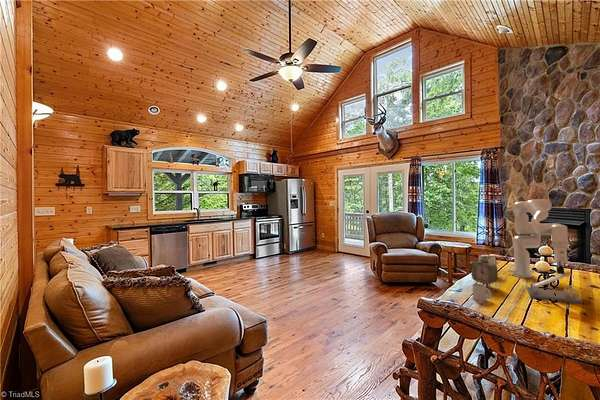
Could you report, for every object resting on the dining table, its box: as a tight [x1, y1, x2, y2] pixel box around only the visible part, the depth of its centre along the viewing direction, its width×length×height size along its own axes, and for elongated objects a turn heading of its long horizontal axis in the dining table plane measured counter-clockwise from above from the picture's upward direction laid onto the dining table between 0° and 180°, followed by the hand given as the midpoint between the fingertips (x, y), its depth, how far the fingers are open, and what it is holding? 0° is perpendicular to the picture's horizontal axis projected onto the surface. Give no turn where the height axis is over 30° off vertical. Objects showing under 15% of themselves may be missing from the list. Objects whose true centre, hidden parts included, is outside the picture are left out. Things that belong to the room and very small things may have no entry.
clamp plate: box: [526, 282, 583, 305], centre depth 182 cm, size 24×16×7 cm, turn 57°
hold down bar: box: [532, 270, 572, 288], centre depth 182 cm, size 21×4×2 cm
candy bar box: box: [478, 254, 497, 265], centre depth 231 cm, size 11×5×16 cm, turn 80°
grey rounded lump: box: [472, 283, 492, 302], centre depth 182 cm, size 7×10×9 cm
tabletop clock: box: [470, 251, 499, 290], centre depth 205 cm, size 14×9×25 cm, turn 23°
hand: (560, 273), depth 179 cm, fingers closed
